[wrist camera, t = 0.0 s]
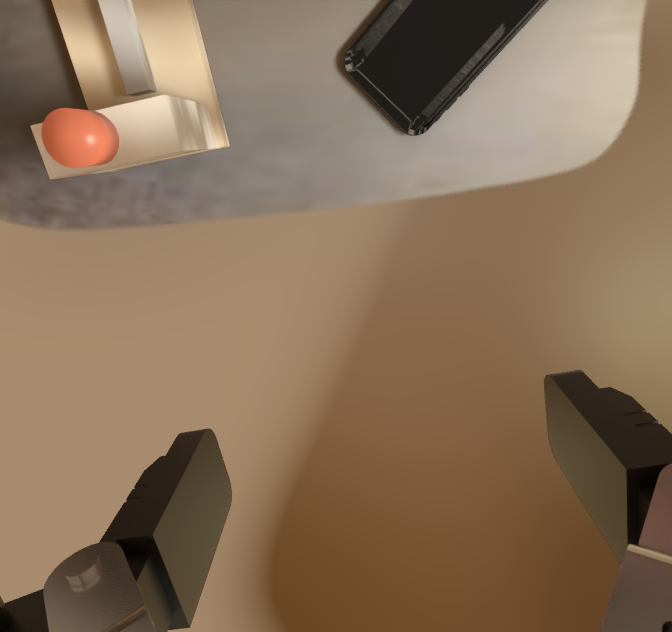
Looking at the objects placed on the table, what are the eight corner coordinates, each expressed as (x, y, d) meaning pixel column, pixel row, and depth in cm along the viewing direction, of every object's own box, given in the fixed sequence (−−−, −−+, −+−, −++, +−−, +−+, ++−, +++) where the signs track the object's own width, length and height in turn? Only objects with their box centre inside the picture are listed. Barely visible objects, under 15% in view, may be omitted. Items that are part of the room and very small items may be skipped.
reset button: (59, 116, 27) (32, 114, 25) (108, 105, 27) (85, 102, 24) (78, 170, 28) (54, 173, 26) (126, 159, 27) (105, 161, 25)
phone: (338, 62, 35) (502, -136, 31) (338, 65, 36) (497, -127, 32) (416, 143, 37) (583, -35, 33) (415, 143, 38) (576, -30, 34)
